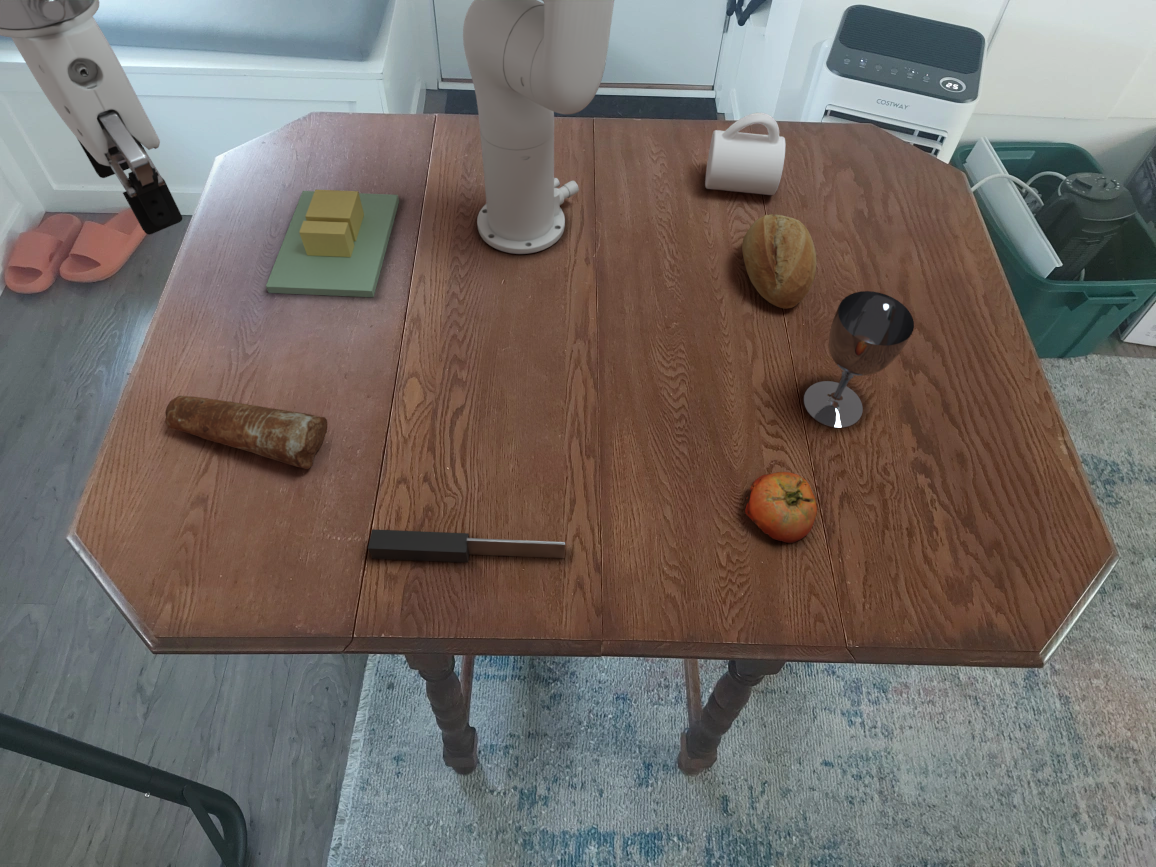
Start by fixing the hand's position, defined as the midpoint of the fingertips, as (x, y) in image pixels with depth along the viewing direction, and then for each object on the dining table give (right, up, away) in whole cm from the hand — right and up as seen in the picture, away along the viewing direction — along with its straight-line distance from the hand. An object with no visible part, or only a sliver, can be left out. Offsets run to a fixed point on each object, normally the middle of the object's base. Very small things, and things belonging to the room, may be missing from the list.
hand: (140, 197), depth 66 cm
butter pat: (+4, +5, +38) cm, 38 cm away
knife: (+27, -33, +14) cm, 45 cm away
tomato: (+60, -29, +17) cm, 69 cm away
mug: (+63, +17, +50) cm, 82 cm away
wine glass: (+69, -17, +26) cm, 76 cm away
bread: (0, -22, +21) cm, 30 cm away
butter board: (+4, +6, +40) cm, 41 cm away
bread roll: (+65, +1, +39) cm, 76 cm away
